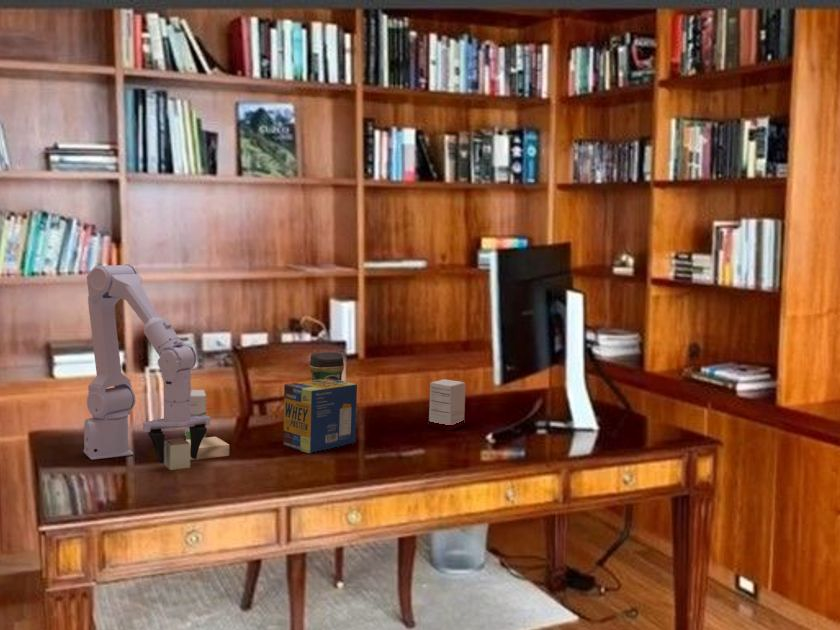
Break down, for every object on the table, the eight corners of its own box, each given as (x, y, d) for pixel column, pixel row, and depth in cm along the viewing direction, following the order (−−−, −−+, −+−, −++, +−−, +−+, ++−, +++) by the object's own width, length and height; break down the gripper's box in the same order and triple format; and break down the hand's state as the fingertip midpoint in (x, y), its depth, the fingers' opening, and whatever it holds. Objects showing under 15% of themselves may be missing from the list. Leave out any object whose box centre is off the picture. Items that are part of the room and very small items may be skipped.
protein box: (282, 445, 213) (283, 384, 212) (329, 436, 225) (330, 377, 223) (309, 454, 206) (310, 390, 205) (356, 444, 218) (358, 383, 216)
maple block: (191, 461, 198) (191, 449, 198) (179, 452, 206) (179, 440, 205) (229, 457, 203) (229, 444, 203) (215, 448, 211) (215, 436, 210)
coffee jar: (336, 412, 253) (337, 350, 251) (346, 418, 246) (348, 353, 244) (305, 415, 249) (306, 351, 247) (314, 420, 242) (316, 355, 240)
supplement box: (442, 422, 244) (444, 378, 243) (464, 426, 240) (466, 382, 239) (427, 427, 238) (429, 382, 237) (450, 431, 234) (451, 385, 233)
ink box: (206, 441, 215) (206, 395, 214) (186, 442, 214) (186, 395, 212) (204, 433, 223) (204, 388, 222) (184, 434, 222) (184, 389, 221)
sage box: (170, 470, 190) (170, 443, 189) (164, 465, 193) (164, 439, 193) (190, 467, 192) (190, 441, 192) (183, 462, 196) (183, 437, 195)
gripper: (149, 406, 184) (149, 468, 185) (215, 400, 192) (214, 460, 193) (140, 400, 190) (140, 460, 191) (204, 394, 198) (204, 452, 199)
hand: (177, 459), depth 193 cm, fingers open, 7 cm apart
